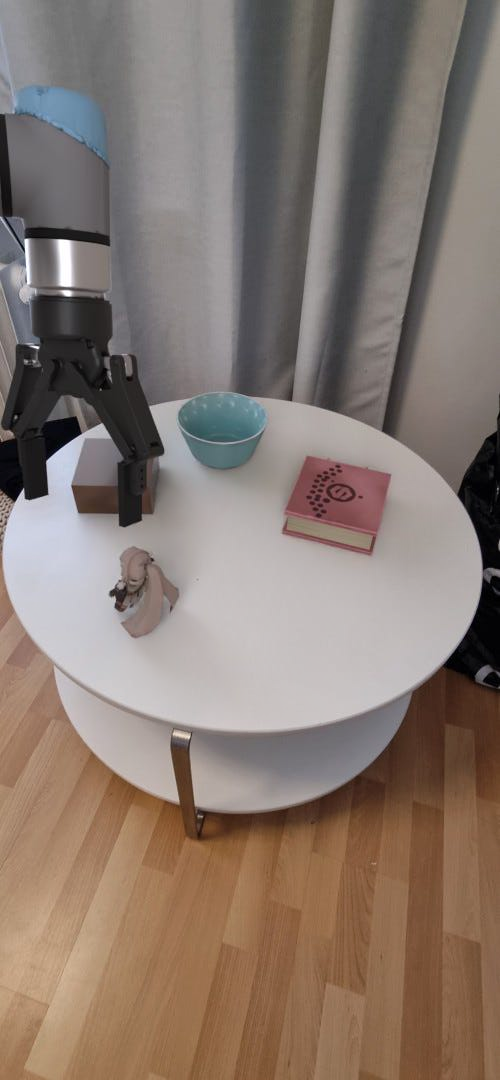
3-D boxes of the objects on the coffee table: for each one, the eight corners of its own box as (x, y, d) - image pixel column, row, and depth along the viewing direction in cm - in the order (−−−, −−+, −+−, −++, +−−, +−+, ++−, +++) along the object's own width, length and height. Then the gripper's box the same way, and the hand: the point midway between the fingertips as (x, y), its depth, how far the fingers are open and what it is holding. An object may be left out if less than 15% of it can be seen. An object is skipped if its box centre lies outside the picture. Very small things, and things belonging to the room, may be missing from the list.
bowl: (186, 424, 112) (184, 387, 106) (268, 431, 111) (270, 393, 105) (171, 478, 101) (168, 439, 95) (262, 485, 100) (264, 447, 94)
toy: (137, 572, 85) (151, 516, 73) (181, 610, 84) (203, 559, 72) (91, 613, 80) (99, 559, 68) (137, 654, 79) (153, 606, 67)
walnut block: (77, 513, 94) (70, 485, 90) (90, 465, 103) (84, 437, 98) (152, 514, 95) (149, 486, 90) (159, 466, 103) (156, 439, 99)
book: (386, 493, 100) (392, 470, 97) (371, 556, 90) (377, 533, 86) (304, 474, 103) (307, 452, 99) (281, 533, 93) (284, 510, 89)
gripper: (203, 303, 52) (197, 525, 60) (13, 291, 64) (28, 480, 71) (150, 299, 46) (151, 547, 54) (-51, 287, 57) (-26, 494, 65)
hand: (81, 509), depth 63 cm, fingers open, 13 cm apart
